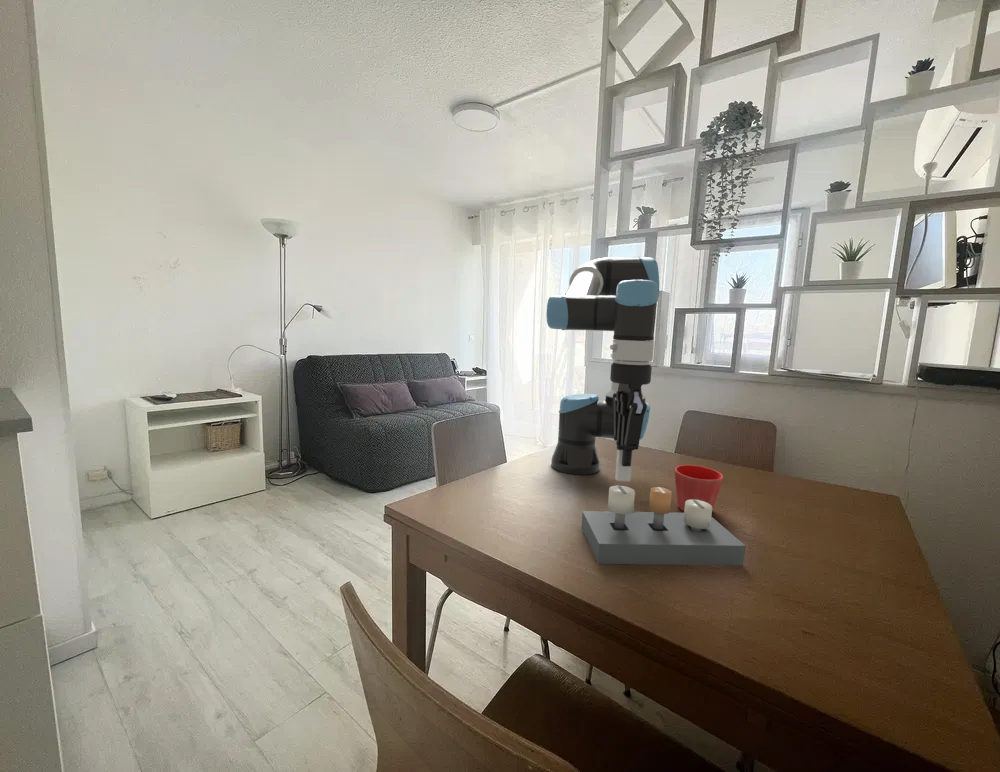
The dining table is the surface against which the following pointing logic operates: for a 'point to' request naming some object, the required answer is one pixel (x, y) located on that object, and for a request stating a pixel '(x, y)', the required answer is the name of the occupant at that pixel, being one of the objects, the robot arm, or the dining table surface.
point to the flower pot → (697, 484)
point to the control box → (659, 541)
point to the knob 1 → (621, 503)
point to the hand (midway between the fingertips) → (622, 479)
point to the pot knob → (659, 505)
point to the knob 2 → (697, 514)
